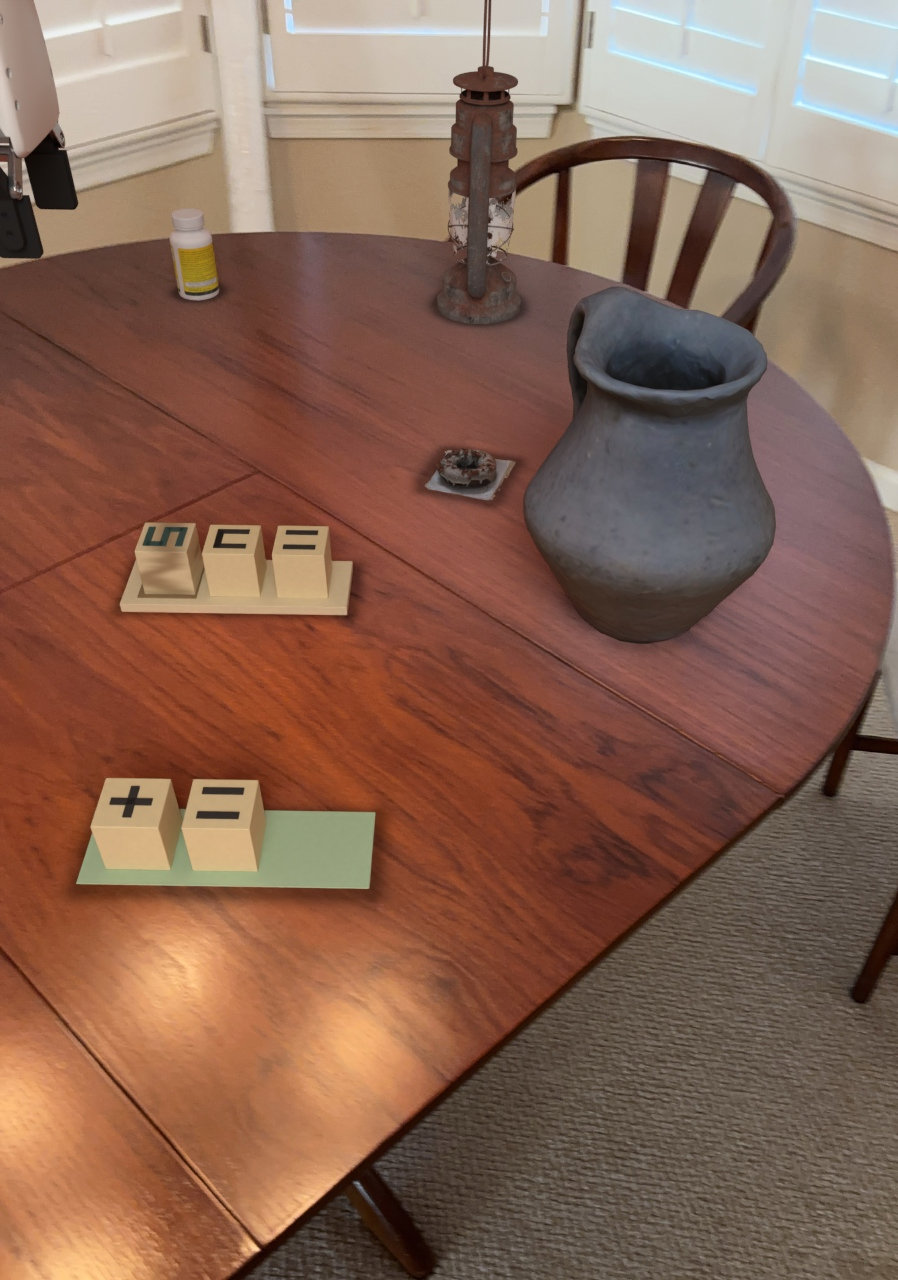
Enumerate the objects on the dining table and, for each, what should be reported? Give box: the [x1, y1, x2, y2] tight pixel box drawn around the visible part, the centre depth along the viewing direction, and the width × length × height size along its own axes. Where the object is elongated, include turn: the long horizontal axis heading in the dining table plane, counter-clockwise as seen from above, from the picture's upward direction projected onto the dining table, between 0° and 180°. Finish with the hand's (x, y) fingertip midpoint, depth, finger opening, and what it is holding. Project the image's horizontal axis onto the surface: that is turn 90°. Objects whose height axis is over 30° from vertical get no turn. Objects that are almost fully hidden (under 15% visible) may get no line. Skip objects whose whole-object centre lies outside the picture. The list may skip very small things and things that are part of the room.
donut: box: [424, 447, 517, 502], centre depth 108 cm, size 8×8×2 cm
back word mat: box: [119, 524, 354, 616], centre depth 94 cm, size 20×7×6 cm, turn 89°
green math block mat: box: [75, 777, 376, 890], centre depth 73 cm, size 20×7×6 cm, turn 89°
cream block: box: [133, 521, 204, 595], centre depth 93 cm, size 4×4×5 cm
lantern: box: [436, 0, 522, 325], centre depth 125 cm, size 11×16×35 cm
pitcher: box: [522, 286, 777, 645], centre depth 86 cm, size 21×22×25 cm
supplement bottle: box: [169, 207, 220, 301], centre depth 136 cm, size 5×5×10 cm
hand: (40, 231), depth 79 cm, fingers open, 9 cm apart
